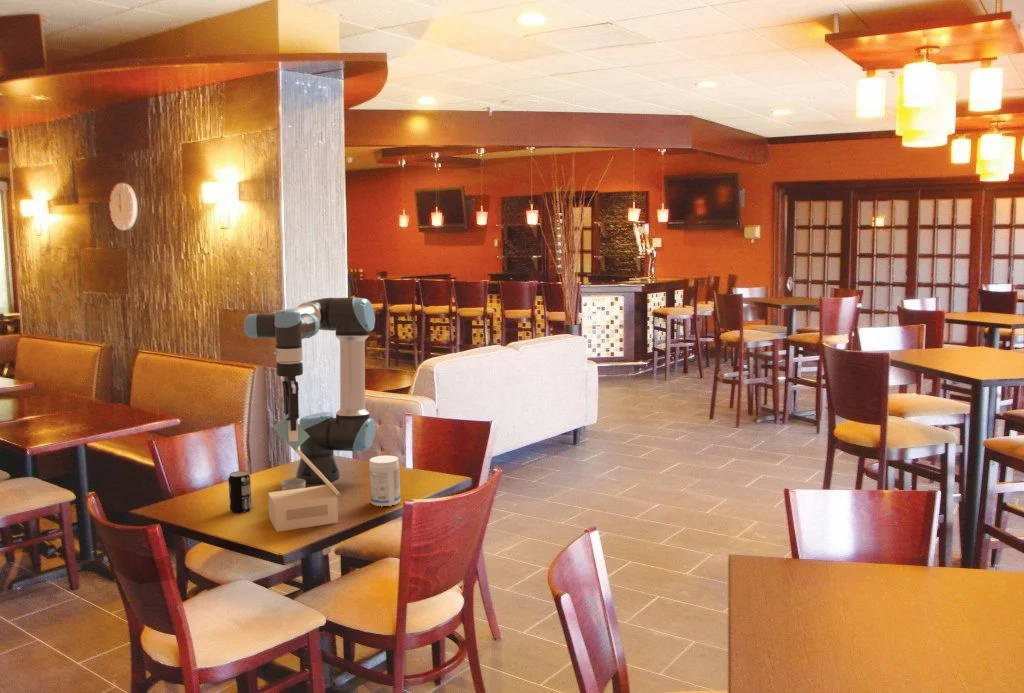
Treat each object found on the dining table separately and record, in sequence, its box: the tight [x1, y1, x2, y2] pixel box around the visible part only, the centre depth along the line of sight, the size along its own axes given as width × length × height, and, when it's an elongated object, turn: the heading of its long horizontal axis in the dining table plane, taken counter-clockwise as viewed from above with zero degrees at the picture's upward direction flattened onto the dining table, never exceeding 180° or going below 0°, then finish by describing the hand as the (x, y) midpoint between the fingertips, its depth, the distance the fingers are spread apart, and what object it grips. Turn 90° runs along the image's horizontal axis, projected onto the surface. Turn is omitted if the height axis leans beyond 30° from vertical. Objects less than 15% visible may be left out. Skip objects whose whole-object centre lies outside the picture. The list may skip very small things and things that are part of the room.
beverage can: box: [227, 470, 253, 514], centre depth 266 cm, size 7×7×12 cm
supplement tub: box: [368, 455, 401, 508], centre depth 271 cm, size 10×10×15 cm
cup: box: [280, 478, 307, 491], centre depth 267 cm, size 8×10×8 cm
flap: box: [272, 414, 341, 497], centre depth 255 cm, size 14×27×6 cm
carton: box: [267, 484, 339, 532], centre depth 256 cm, size 14×18×8 cm
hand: (292, 439), depth 252 cm, fingers closed on flap, 3 cm apart
